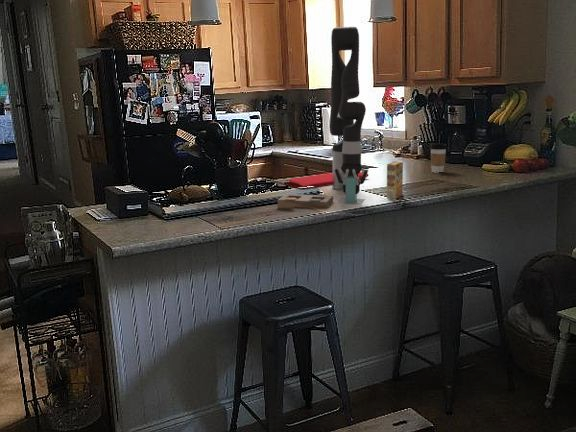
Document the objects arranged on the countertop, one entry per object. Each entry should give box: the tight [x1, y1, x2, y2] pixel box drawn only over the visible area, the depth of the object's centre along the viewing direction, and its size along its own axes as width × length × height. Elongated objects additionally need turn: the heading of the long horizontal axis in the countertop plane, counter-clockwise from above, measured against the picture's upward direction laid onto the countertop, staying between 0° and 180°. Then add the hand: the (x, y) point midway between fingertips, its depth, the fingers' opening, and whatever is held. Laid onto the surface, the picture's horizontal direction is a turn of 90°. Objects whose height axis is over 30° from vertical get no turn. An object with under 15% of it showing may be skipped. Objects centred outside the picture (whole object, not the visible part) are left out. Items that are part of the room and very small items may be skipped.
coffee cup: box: [430, 142, 448, 174], centre depth 331 cm, size 8×8×15 cm
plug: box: [345, 176, 358, 202], centre depth 261 cm, size 4×4×11 cm
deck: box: [336, 197, 366, 205], centre depth 262 cm, size 10×10×1 cm
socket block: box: [277, 193, 334, 210], centre depth 258 cm, size 12×20×4 cm, turn 74°
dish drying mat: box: [283, 171, 369, 188], centre depth 310 cm, size 16×41×4 cm, turn 125°
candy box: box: [386, 161, 404, 199], centre depth 269 cm, size 9×4×15 cm, turn 150°
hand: (351, 193), depth 261 cm, fingers closed on plug, 4 cm apart
